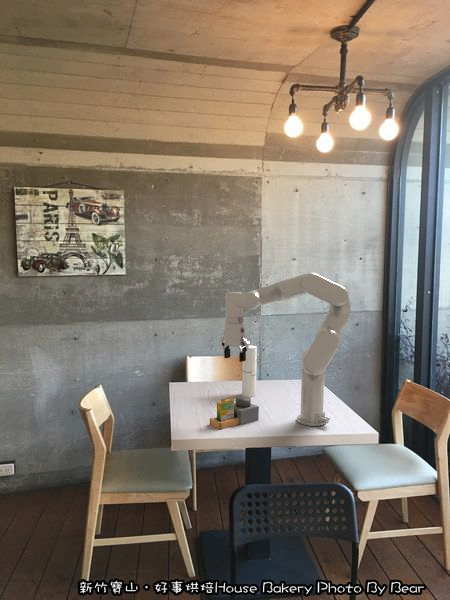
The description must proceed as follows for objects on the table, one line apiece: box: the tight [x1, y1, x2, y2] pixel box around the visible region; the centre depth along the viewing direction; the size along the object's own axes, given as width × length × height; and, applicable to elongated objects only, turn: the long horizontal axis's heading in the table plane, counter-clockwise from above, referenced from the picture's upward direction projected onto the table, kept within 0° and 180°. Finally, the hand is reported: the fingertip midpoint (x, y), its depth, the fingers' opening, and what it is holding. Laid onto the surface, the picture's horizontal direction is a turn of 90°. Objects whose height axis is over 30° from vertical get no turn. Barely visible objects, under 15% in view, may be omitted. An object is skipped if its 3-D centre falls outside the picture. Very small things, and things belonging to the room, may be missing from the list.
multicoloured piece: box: [209, 395, 260, 430], centre depth 191 cm, size 10×20×9 cm, turn 130°
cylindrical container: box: [241, 344, 258, 398], centre depth 230 cm, size 7×7×25 cm
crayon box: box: [216, 395, 235, 422], centre depth 188 cm, size 7×3×12 cm, turn 130°
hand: (234, 359), depth 196 cm, fingers open, 9 cm apart
